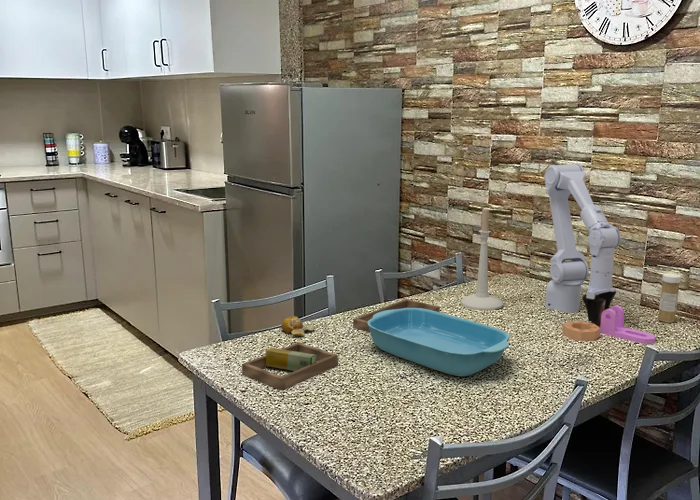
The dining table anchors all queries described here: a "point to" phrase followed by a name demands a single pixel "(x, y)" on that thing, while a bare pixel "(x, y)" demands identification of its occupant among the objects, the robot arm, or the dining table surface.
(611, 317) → the bracket
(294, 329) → the fruit
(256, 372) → the box frame
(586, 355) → the dining table surface
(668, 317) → the sprinkles bottle
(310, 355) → the medication box
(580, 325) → the orange flat ring
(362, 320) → the wagon frame
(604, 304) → the peg
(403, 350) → the casserole dish
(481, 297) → the candlestick
